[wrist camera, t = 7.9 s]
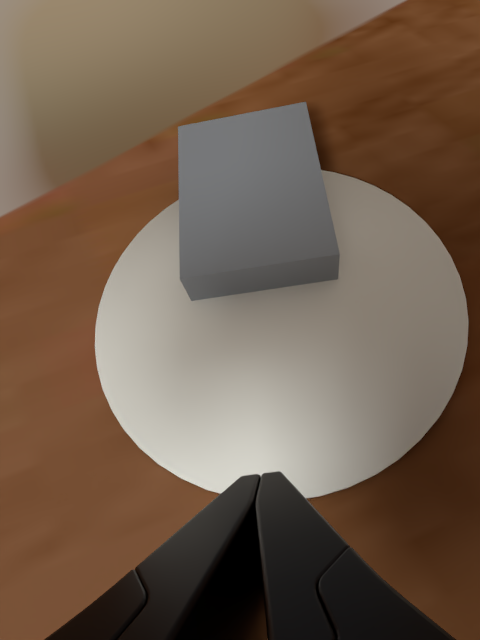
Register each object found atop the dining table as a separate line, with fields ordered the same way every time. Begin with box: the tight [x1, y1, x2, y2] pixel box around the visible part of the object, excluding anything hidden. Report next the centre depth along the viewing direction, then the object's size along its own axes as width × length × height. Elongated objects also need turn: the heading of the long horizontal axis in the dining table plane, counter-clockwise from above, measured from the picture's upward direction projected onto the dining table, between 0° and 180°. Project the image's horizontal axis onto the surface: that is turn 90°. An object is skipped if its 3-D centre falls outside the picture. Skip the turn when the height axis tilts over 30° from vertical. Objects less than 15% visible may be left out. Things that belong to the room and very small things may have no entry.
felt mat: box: [95, 170, 469, 499], centre depth 20 cm, size 17×17×1 cm
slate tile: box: [178, 102, 340, 301], centre depth 22 cm, size 2×7×10 cm
